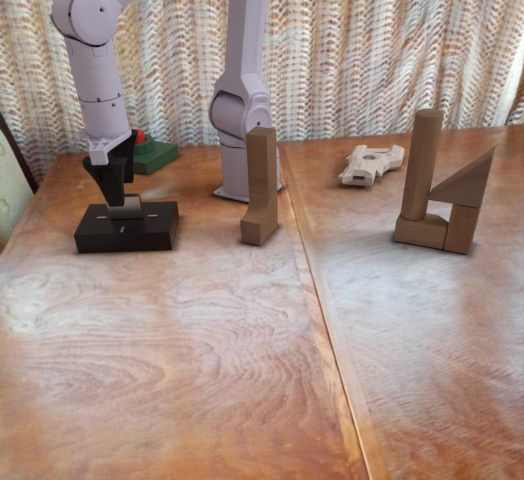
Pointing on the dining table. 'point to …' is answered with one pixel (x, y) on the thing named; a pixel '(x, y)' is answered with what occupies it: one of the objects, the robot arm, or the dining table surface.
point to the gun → (370, 164)
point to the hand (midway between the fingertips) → (121, 193)
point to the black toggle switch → (128, 229)
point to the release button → (140, 136)
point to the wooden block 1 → (261, 186)
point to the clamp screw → (128, 208)
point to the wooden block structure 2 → (440, 192)
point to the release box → (153, 155)
